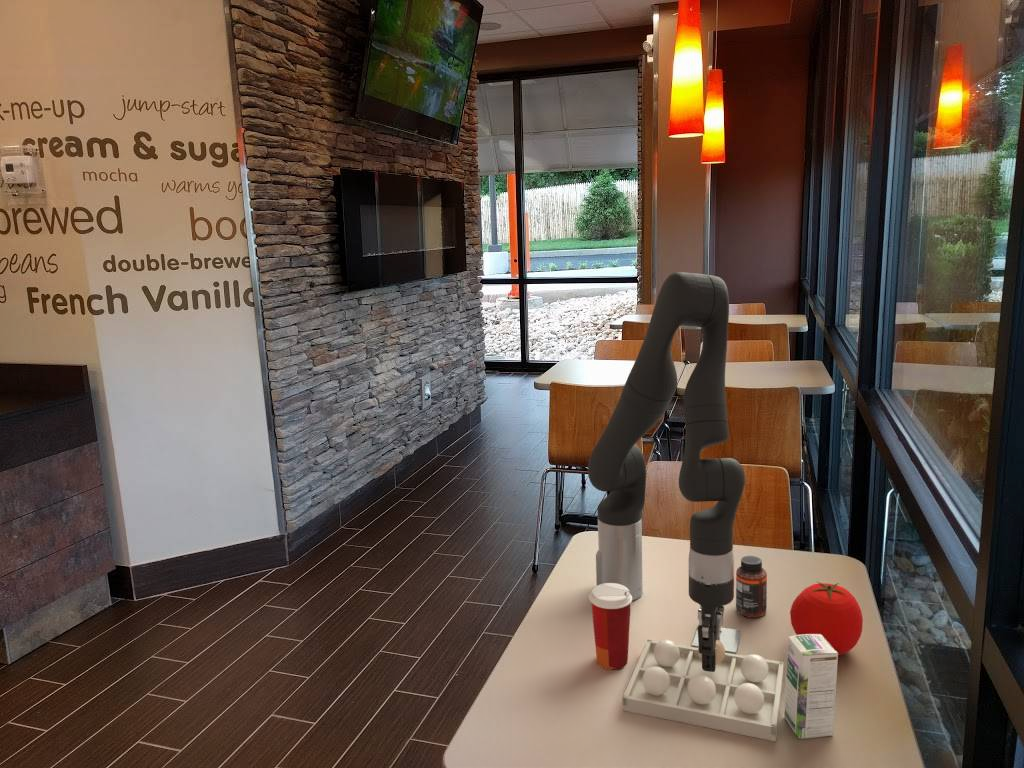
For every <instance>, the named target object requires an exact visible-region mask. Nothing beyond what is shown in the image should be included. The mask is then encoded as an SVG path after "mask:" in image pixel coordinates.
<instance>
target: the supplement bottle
mask: <svg viewBox="0 0 1024 768" xmlns="http://www.w3.org/2000/svg"><path fill="white" fill-rule="evenodd" d="M762 561H763V560H762V559H761V557H758V556H757V555H756V556H755V555H745V556H742V557H741V559H740V566H739V567H738V568H737V569H736V572H735V573H736V574H735V575H736V576H735V609H736V611H737V612H738V614H739V615H742V616H744V617H747V618H760V617H762V616H764V615H765V614H766V612H767V602H768V601H767V600H768V597H767V593H768V592H767V590H768V589H767V588H768V583H767V582H768V581H767V580H768V574H767V571H766V570H765V569H764V568H763V563H762Z"/></svg>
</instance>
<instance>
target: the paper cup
mask: <svg viewBox="0 0 1024 768" xmlns="http://www.w3.org/2000/svg"><path fill="white" fill-rule="evenodd" d="M588 600H589V602H590V603H591V610H592V611H591V613H592V622H593V632H594V633H593V634H594V643H595V644H594V645H595V655H596V662H598V663H597V665H598V664H599V665H600V667H601V666H602V667H603V668H602V667H601V668H602V669H604V668H606V669H605V670H608V669H618V670H621V669H623V668H625V667H626V666H627V665H628V662H629V661H628V659H629V646H630V640H629V639H630V626H631V625H630V624H631V603H632V602H633V601H632V596H631V594H630V591H629V589H628V588H627V587H625V586H623V585H621V584H617V583H604V584H600V585H598V586H597V585H596V586H595V587H594V588H593V589H592V590H591V591H590V594H589V595H588ZM626 664H627V665H626ZM599 665H598V666H599ZM625 665H626V666H625ZM624 666H625V667H624ZM622 667H623V668H622ZM620 668H621V669H620Z"/></svg>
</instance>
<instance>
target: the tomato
mask: <svg viewBox="0 0 1024 768" xmlns="http://www.w3.org/2000/svg"><path fill="white" fill-rule="evenodd" d="M839 584H840V583H839V582H838V583H837V582H836V583H828V582H819V581H817V583H813V584H811V585H809V586H807V587H806V588H804V589H803V590H802V591H801V592H800V593H799V594H798V595H797V596H796V597H795V599H794V600H793V602H792V605H791V607H790V610H789V611H790V612H789V615H790V623H791V627H792V629H793V631H794V633H795V635H802V634H821V635H822V636H823V637H824V638H825V639H826V640H827V641H828V642H829V643H830V645H831V646H832V647H833V649H834V650H835V651H837V652H838V656H839V655H840V656H841V655H844V654H845V653H847V652H850V651H851V650H852V649H854V647H856V645H857V643H858V642H859V640H860V638H861V636H862V632H863V621H864V620H863V612H862V609H861V606H860V605H859V602H858V601H857V599H856V597H855V596H854V595H853V594H852V593H851V592H850V591H849V590H848V589H846V588H844V587H843V586H840V585H839Z"/></svg>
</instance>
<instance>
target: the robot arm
mask: <svg viewBox="0 0 1024 768" xmlns="http://www.w3.org/2000/svg"><path fill="white" fill-rule="evenodd" d="M729 317H730V297H729V290H728V287H727V284H726V282H725V281H724V280H723V279H722V278H721V277H720V276H716V275H712V274H711V275H710V274H703V273H694V272H686V271H685V272H684V271H683V272H682V271H677V272H672V273H671V274H669V275H668V276H667V278H665V280H664V281H663V283H662V285H661V288H660V290H659V293H658V295H657V298H656V302H655V305H654V308H653V311H652V314H651V316H650V321H649V323H648V327H647V330H646V333H645V336H644V339H643V342H642V344H641V346H640V349H639V352H638V354H637V356H636V359H635V360H634V364H633V366H632V368H631V370H630V371H629V374H628V377H627V379H626V381H625V383H624V386H623V388H622V391H621V394H620V395H619V396H620V397H619V399H618V401H617V403H616V406H615V408H614V410H613V411H612V414H611V416H610V418H609V421H608V423H607V424H606V427H605V429H604V431H603V433H602V435H601V436H600V438H599V439H598V441H597V443H596V445H595V446H594V448H593V449H592V452H591V454H590V455H589V459H588V463H587V475H588V478H589V483H591V485H592V486H593V487H594V488H595V489H596V490H597V491H600V492H605V493H606V492H609V494H608V495H607V496H606V497H605V498H604V499H603V500H601V501H600V502H599V504H598V506H597V535H598V536H597V537H598V538H597V541H598V542H597V543H598V545H597V546H598V549H597V552H596V553H595V573H596V574H595V575H596V577H595V578H596V586H598V585H600V584H604V583H617V584H621V585H623V586H625V587H627V588H628V589H629V591H630V594H631V596H632V602H633V601H635V600H637V599H639V598H641V597H642V595H643V593H644V592H643V586H644V585H643V583H644V582H643V536H642V534H643V533H642V528H643V526H642V521H643V520H642V516H643V515H642V514H643V509H644V507H645V504H646V485H647V466H646V465H647V464H646V460H645V456H644V453H643V451H642V449H641V448H640V446H639V445H637V443H638V441H640V439H641V438H643V437H644V436H645V435H646V434H647V433H648V432H649V431H650V430H652V428H653V427H654V426H655V425H656V424H657V423H658V422H659V421H661V419H662V417H664V415H665V413H666V411H667V410H668V408H669V406H670V404H671V402H672V399H673V397H674V395H675V393H676V391H677V387H678V375H677V374H678V373H677V370H676V366H675V362H674V358H673V353H672V349H671V347H672V343H673V340H674V336H675V335H676V332H677V331H678V329H679V328H680V327H682V326H684V327H696V328H700V329H701V336H702V346H701V351H700V354H699V357H698V360H697V363H696V364H695V366H694V368H693V370H692V372H691V375H690V376H689V378H688V380H687V383H686V386H685V389H684V393H683V414H684V425H685V444H684V451H683V457H682V461H681V467H680V470H679V475H678V489H679V491H680V494H682V497H683V498H684V499H685V500H687V501H689V502H692V503H696V502H697V503H704V502H717V503H716V504H715V505H713V506H712V507H709V508H706V509H702V510H699V511H697V512H694V513H693V514H692V515H691V517H690V520H689V553H688V596H689V598H690V599H691V601H693V602H695V604H698V605H699V608H698V609H697V620H698V626H697V628H696V631H697V630H698V642H699V650H698V651H699V653H700V654H702V669H703V670H704V671H709V672H714V671H715V669H716V651H717V648H716V641H717V640H719V641H720V634H721V627H722V628H723V625H724V613H725V606H726V605H730V603H732V601H733V600H734V597H735V557H734V556H735V555H734V523H735V518H736V516H737V512H738V507H739V505H740V501H741V499H742V496H743V493H744V490H745V486H746V485H745V484H746V473H745V471H744V468H743V466H742V465H741V463H740V462H739V461H738V460H737V459H735V458H733V457H732V458H731V457H723V458H722V457H721V458H701V457H700V456H701V452H702V451H703V450H705V449H706V448H709V447H713V446H718V445H721V444H723V443H726V442H727V441H728V439H729V435H730V433H729V432H730V429H729V420H728V419H729V418H728V409H727V408H728V407H727V399H726V398H727V397H726V363H727V352H728V338H729V337H728V335H729V333H728V332H729V321H730V320H729Z"/></svg>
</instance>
